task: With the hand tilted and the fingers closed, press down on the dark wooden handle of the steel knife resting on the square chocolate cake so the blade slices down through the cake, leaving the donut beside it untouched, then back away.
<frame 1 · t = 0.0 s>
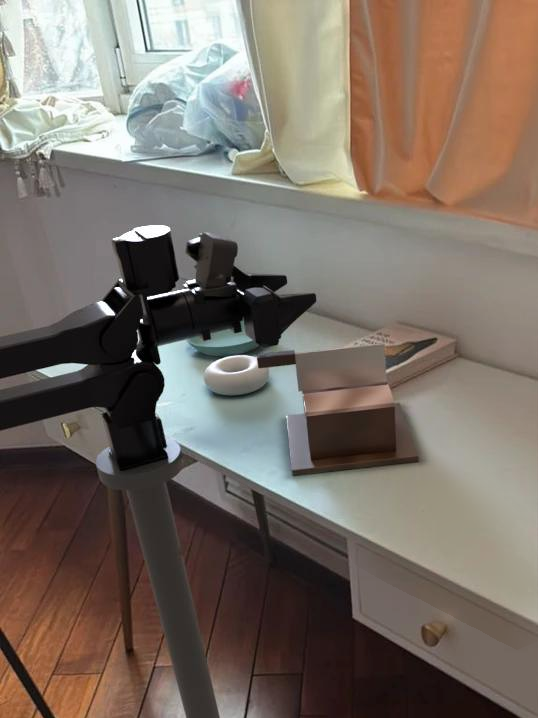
hand: (300, 288, 109), 18 cm above the table, tool horizontal, fingers open, 9 cm apart
cake: (349, 439, 113), on the table
donut: (238, 386, 130), on the table
knife: (322, 368, 107), point 10 cm above the table, slide at 0.0 cm
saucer: (230, 345, 144), on the table
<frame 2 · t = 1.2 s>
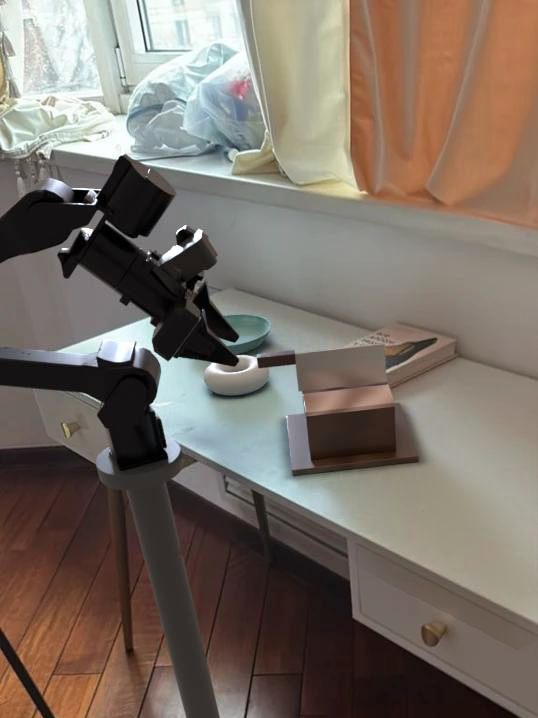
hand: (237, 351, 104), 14 cm above the table, tool tilted 45°, fingers open, 8 cm apart
nothing on the table moved.
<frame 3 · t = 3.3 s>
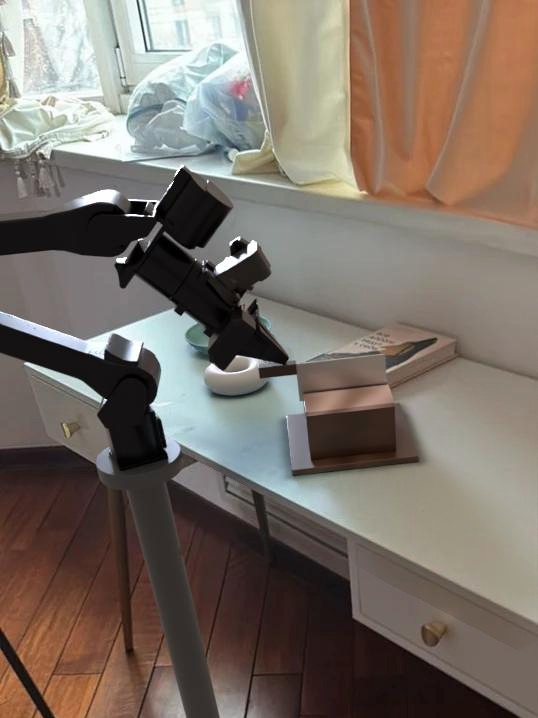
hand: (286, 360, 106), 12 cm above the table, tool tilted 45°, fingers closed, pressing on knife
knife: (323, 378, 107), point 9 cm above the table, slide at 1.3 cm, touching gripper
everything else where it was.
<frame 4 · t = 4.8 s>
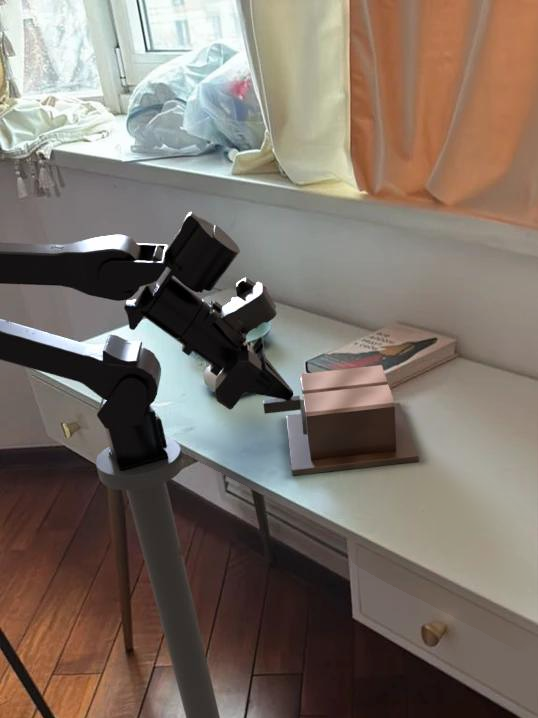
hand: (291, 396, 108), 7 cm above the table, tool tilted 45°, fingers closed, pressing on knife
knife: (326, 413, 110), point 4 cm above the table, slide at 6.1 cm, touching gripper
everything else where it was.
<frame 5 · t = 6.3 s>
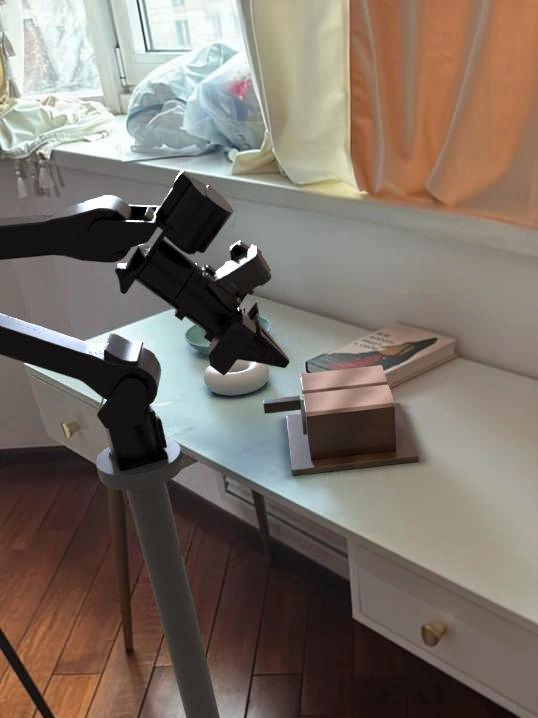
hand: (287, 364, 106), 11 cm above the table, tool tilted 45°, fingers closed
knife: (326, 413, 110), point 4 cm above the table, slide at 6.1 cm
everything else where it was.
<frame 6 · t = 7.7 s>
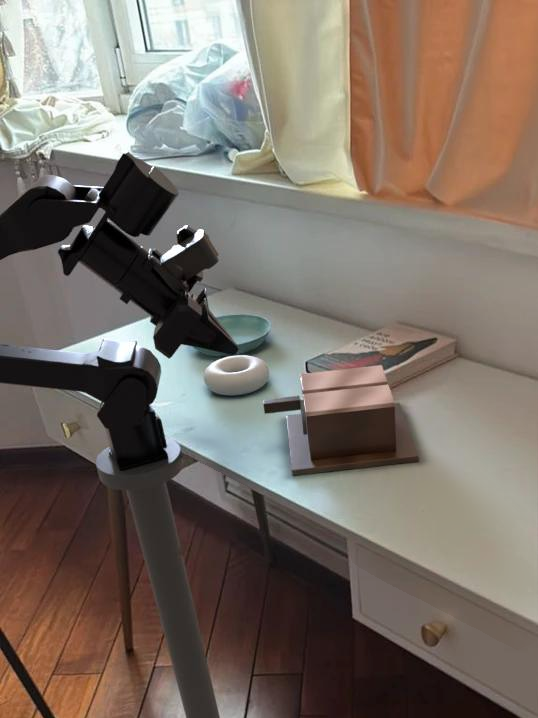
hand: (236, 351, 104), 14 cm above the table, tool tilted 45°, fingers closed
nothing on the table moved.
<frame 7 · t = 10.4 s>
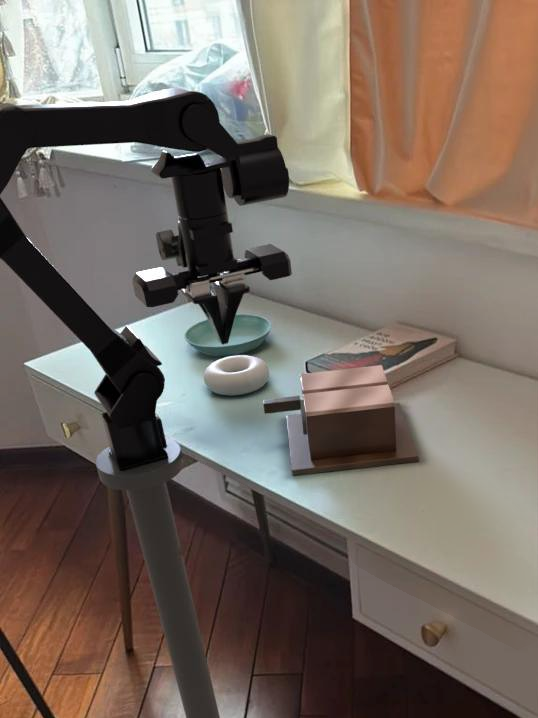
hand: (223, 343, 109), 13 cm above the table, tool pointing down, fingers closed
nothing on the table moved.
at the end: knife slide at 6.1 cm; donut moved 0.2 cm from its start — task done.
